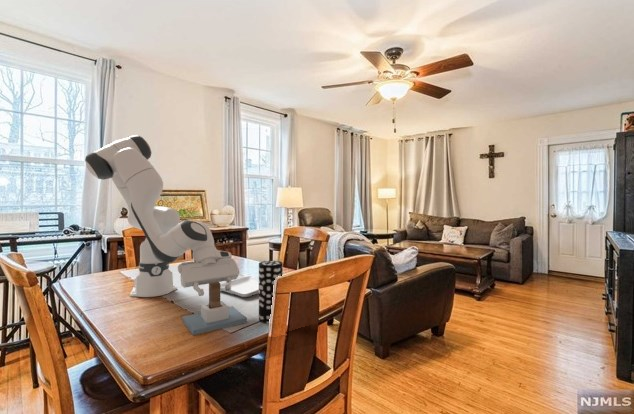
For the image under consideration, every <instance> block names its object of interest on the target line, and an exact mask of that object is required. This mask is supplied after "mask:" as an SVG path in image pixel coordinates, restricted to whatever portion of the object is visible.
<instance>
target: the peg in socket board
mask: <svg viewBox="0 0 634 414" xmlns="http://www.w3.org/2000/svg"><path fill="white" fill-rule="evenodd" d="M182 322H183V324H184V325H185V327H186V328H187V330H188V331H189V332H190V333H191V335H192V336H195V335H201V334H204V333H208V332H209V333H210V332H213V331H217V330H220V329H225V328H229V327H233V326H236V325H237V326H238V325H242V324H245V323H246V324H247V323H248V317H247V316H246V315H244V314H243V313H241V312H240V311H239V310H238V309H237V308H236V307H234V306H229V305H227V304H226V303H225V302H224V301H223V300H220V307H218V308H213V309H210V308H209V302H208V303H204V304H200V312H197V313H193V314H189V315H183V316H182Z"/></svg>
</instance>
